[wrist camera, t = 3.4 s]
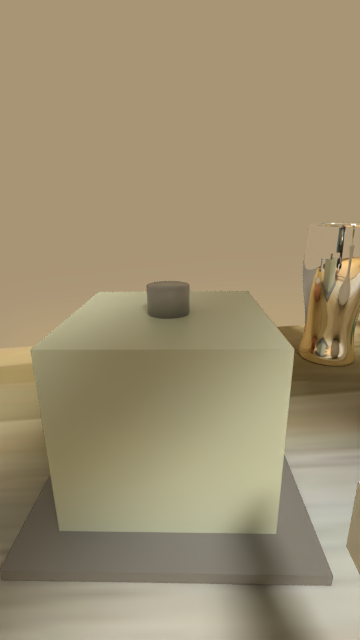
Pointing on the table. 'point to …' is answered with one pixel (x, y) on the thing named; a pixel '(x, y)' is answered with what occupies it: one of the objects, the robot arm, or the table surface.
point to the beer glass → (331, 292)
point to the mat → (171, 551)
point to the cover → (165, 412)
